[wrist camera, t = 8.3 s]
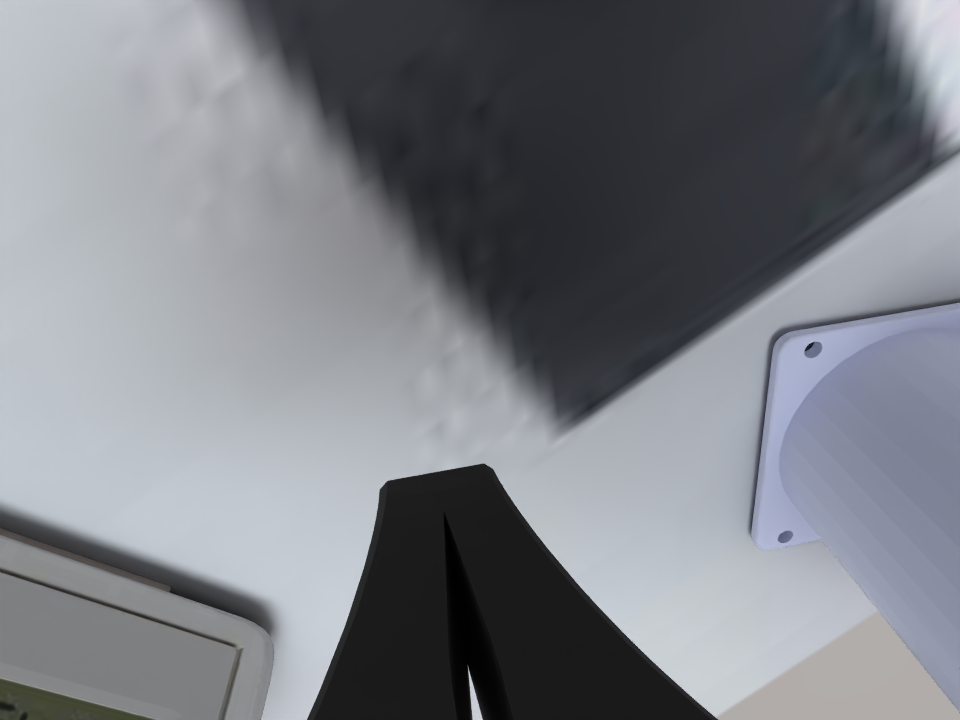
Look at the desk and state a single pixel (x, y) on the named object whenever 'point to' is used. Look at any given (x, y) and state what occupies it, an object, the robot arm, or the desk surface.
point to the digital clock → (118, 645)
